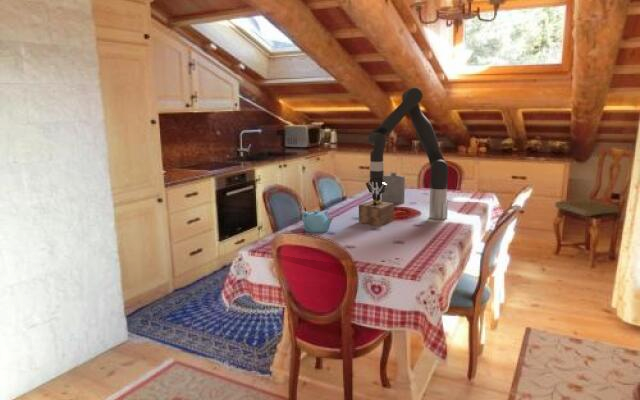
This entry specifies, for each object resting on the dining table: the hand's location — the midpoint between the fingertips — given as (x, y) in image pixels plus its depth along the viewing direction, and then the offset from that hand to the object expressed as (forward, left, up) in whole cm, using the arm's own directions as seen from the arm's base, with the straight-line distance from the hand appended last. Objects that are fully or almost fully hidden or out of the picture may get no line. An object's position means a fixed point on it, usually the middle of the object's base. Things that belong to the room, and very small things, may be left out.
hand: (376, 200), depth 265 cm
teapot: (+16, +33, -12) cm, 39 cm away
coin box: (0, 0, -12) cm, 12 cm away
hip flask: (+18, -49, -12) cm, 54 cm away
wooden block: (0, -2, -3) cm, 3 cm away
